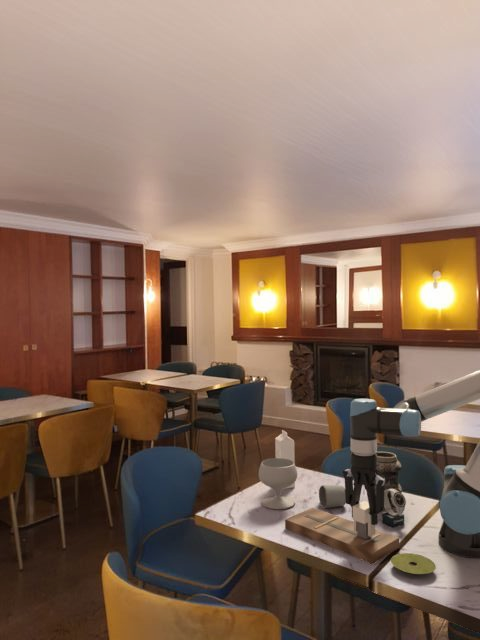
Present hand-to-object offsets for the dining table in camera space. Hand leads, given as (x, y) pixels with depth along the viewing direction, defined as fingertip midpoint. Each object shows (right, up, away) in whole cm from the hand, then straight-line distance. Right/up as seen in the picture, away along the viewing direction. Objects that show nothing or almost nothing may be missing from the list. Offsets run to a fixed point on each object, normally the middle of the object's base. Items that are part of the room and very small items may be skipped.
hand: (364, 532), depth 145 cm
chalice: (-23, -5, +35) cm, 42 cm away
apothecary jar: (+16, -4, +33) cm, 37 cm away
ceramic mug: (-4, -5, +33) cm, 34 cm away
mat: (+10, -5, -13) cm, 17 cm away
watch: (+14, -4, +16) cm, 22 cm away
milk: (-18, -5, +54) cm, 57 cm away
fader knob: (0, -1, 0) cm, 1 cm away
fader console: (-6, -5, +6) cm, 10 cm away
